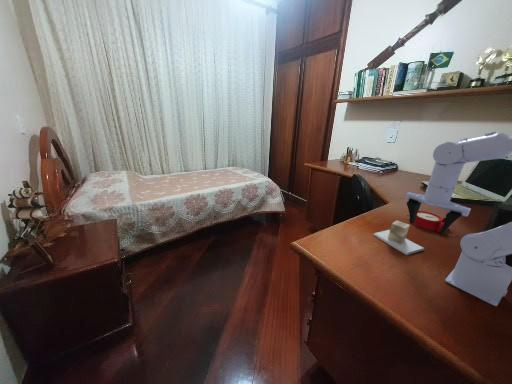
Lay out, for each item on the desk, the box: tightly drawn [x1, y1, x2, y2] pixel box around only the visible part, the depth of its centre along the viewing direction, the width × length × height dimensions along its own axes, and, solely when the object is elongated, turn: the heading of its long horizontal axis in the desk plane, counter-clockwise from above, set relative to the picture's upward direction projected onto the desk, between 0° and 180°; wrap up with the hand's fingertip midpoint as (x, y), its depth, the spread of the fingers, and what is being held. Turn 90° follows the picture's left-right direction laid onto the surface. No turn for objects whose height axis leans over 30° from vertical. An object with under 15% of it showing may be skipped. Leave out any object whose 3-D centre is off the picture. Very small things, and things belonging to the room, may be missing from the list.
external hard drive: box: [373, 229, 425, 256], centre depth 72 cm, size 2×8×12 cm
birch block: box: [388, 220, 411, 244], centre depth 71 cm, size 4×4×6 cm
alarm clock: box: [406, 210, 458, 234], centre depth 83 cm, size 10×6×15 cm
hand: (426, 228), depth 63 cm, fingers open, 7 cm apart
